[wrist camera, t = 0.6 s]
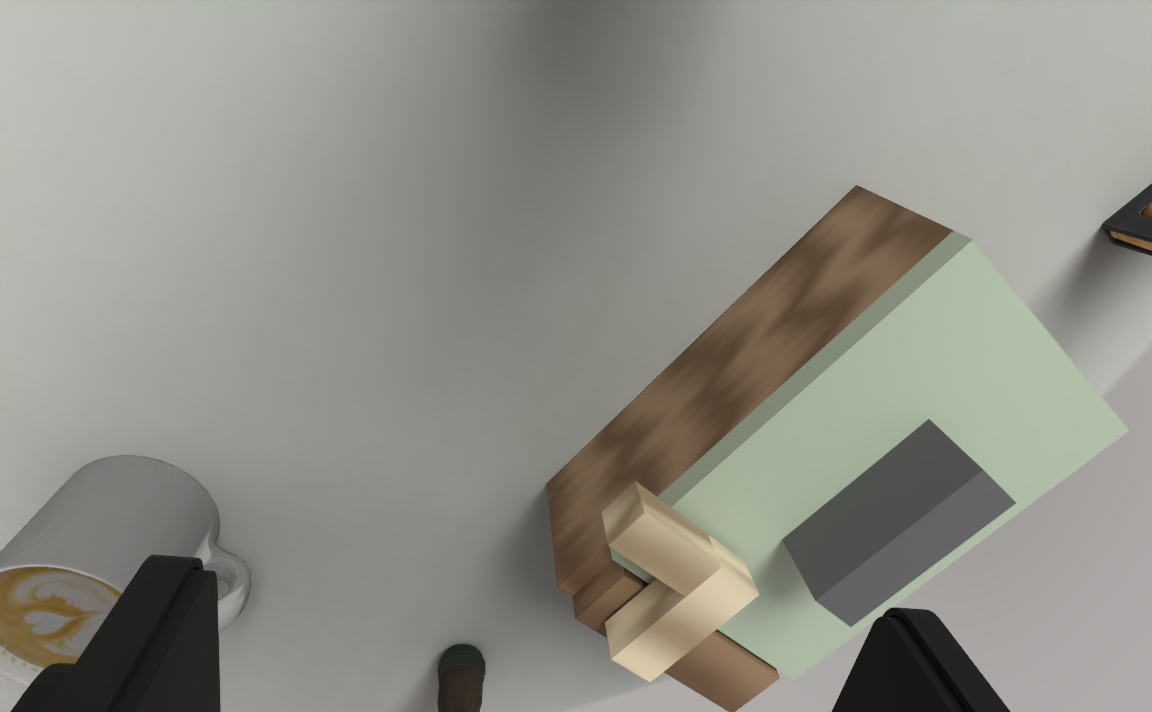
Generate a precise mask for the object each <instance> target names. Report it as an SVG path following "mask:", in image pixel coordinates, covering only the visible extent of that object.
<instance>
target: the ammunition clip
mask: <svg viewBox="0 0 1152 712" xmlns="http://www.w3.org/2000/svg"><path fill="white" fill-rule="evenodd" d="M1102 227H1103V229H1104V230H1105V232H1106V233H1107V235H1108V236H1109V238H1110V239H1111V241H1112V243H1113V244H1115V245H1118V246H1122V247H1125V248H1128V249H1131V250H1135V251H1138V252H1141V253H1144V254H1148V255H1151V256H1152V184H1151V185H1149V186H1148V187H1147V188H1146V189H1144V190H1143V191H1142V192H1141V193H1139V194H1138V195H1137V196H1136V197H1135V198H1133V199H1132V200H1131V201H1130V202H1128V203H1127V204H1126V205H1125V206H1123V207H1122V208H1121V209H1120V210H1118V211H1117V212H1116V213H1115V214H1114V215H1112V216H1111V217H1110V218H1109V219H1107V220H1106V221H1105V222H1104V223H1103V226H1102Z"/></svg>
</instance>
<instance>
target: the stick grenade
mask: <svg viewBox="0 0 1152 712" xmlns="http://www.w3.org/2000/svg"><path fill="white" fill-rule="evenodd" d="M484 675H485V660H484V659H483V656H482V654H481V652H480V651H479V650H478V649H477V648H475V647H473V646H470V645H464V644H462V645H456V646H453V647H451V648H449V649H448V650H447V651H446V652H445V653H444V655H443V657H442V658H441V660H440V662H439V667H438V678H439V692H438V710H439V712H480V708H481V704H482V688H483V681H484Z"/></svg>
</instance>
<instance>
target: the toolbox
mask: <svg viewBox="0 0 1152 712" xmlns="http://www.w3.org/2000/svg"><path fill="white" fill-rule="evenodd" d="M951 232H953V230H951V229H949V228H947V227H945V226H943V225H940V224H938V223H936V222H934V221H932V220H930V219H928V218H926V217H923V216H921V215H919V214H917V213H915V212H913V211H911V210H909V209H906V208H904V207H902V206H900V205H898V204H896V203H894V202H892V201H889V200H887V199H885V198H883V197H881V196H879V195H877V194H875V193H872V192H870V191H868V190H866V189H864V188H862V187H860V186H857V185H856V186H855V187H854V188H853V189H852V190H851V191H850V192H849V193H848V194H847V195H846V196H845V197H844V198H843V199H842V200H841V201H840V202H839V203H838V204H837V205H836V206H834V207H833V208H832V209H831V210H830V211H829V212H828V213H827V214H826V215H825V216H824V217H823V218H822V219H821V220H820V221H819V222H818V223H817V224H816V225H815V226H814V227H813V228H812V229H811V230H810V231H809V232H808V233H806V234H805V235H804V236H803V237H802V238H801V239H800V240H799V241H798V242H797V243H796V244H795V245H794V246H793V247H792V248H791V249H790V250H789V251H788V252H787V253H786V254H785V255H784V256H783V257H782V258H781V259H779V260H778V261H777V262H776V263H775V264H774V265H773V266H772V267H771V268H770V269H769V270H768V271H767V272H766V273H765V274H764V275H763V276H762V277H761V278H760V279H759V280H758V281H757V282H756V283H755V284H754V285H753V286H751V287H750V288H749V289H748V290H747V291H746V292H745V293H744V294H743V295H742V296H741V297H740V298H739V299H738V300H737V301H736V302H735V303H734V304H733V305H732V306H731V307H730V308H729V309H728V310H727V311H726V312H724V313H723V314H722V315H721V316H720V317H719V318H718V319H717V320H716V321H715V322H714V323H713V324H712V325H711V326H710V327H709V328H708V329H707V330H706V331H705V332H704V333H703V334H702V335H701V336H700V337H699V338H698V339H696V340H695V341H694V342H693V343H692V344H691V345H690V346H689V347H688V348H687V349H686V350H685V351H684V352H683V353H682V354H681V355H680V356H679V357H678V358H677V359H676V360H675V361H674V362H673V363H672V364H671V365H669V366H668V367H667V368H666V369H665V370H664V371H663V372H662V373H661V374H660V375H659V376H658V377H657V378H656V379H655V380H654V381H653V382H652V383H651V384H650V385H649V386H648V387H647V388H646V389H645V390H644V391H643V392H641V393H640V394H639V395H638V396H637V397H636V398H635V399H634V400H633V401H632V402H631V403H630V404H629V405H628V406H627V407H626V408H625V409H624V410H623V411H622V412H621V413H620V414H619V415H618V416H617V417H616V418H615V419H613V420H612V421H611V422H610V423H609V424H608V425H607V426H606V427H605V428H604V429H603V430H602V431H601V432H600V433H599V434H598V435H597V436H596V437H595V438H594V439H593V440H592V441H591V442H590V443H589V444H588V445H586V446H585V447H584V448H583V449H582V450H581V451H580V452H579V453H578V454H577V455H576V456H575V457H574V458H573V459H572V460H571V461H570V462H569V463H568V464H567V465H566V466H565V467H564V468H563V469H562V470H561V471H560V472H558V473H557V474H556V475H555V476H554V477H553V478H552V479H551V480H550V481H549V482H548V483H547V484H548V494H549V504H550V515H551V525H552V535H553V546H554V556H555V566H556V577H557V587H559V588H560V589H562V590H564V591H565V592H567V593H568V594H570V595H572V596H573V603H574V611H575V619H577V620H578V621H580V622H582V623H583V624H585V625H587V626H588V627H590V628H592V629H593V630H595V631H597V632H598V633H600V634H602V635H603V636H605V637H607V632H606V627H605V622H606V621H607V620H608V619H610V618H611V617H612V616H613V615H614V614H615V613H617V612H618V611H619V610H620V609H621V608H622V607H624V606H625V605H626V604H627V603H628V602H629V601H631V600H632V599H633V598H634V597H635V596H636V595H638V594H639V593H640V592H641V591H642V590H643V589H645V588H646V587H647V586H648V585H649V583H647V582H646V581H644V580H643V579H641V578H640V577H638V576H637V575H635V574H633V573H632V572H630V571H629V570H627V569H626V568H624V567H623V566H621V565H620V564H618V563H617V562H615V561H614V560H612V555H611V550H610V546H608V542H607V537H606V532H605V527H604V522H603V517H602V511H604V510H605V509H606V508H607V507H608V506H609V505H610V504H611V503H612V502H613V501H614V500H616V499H617V498H618V497H619V496H620V495H621V494H622V493H623V492H624V491H625V490H626V489H628V488H629V487H630V486H631V485H632V484H633V483H634V482H635V481H636V482H638V483H639V484H640V485H642V486H643V487H644V488H646V489H647V490H648V491H650V492H651V493H653V494H654V495H655V496H657V497H658V496H659V495H660V494H661V493H662V492H663V491H664V490H666V489H667V488H668V487H669V486H670V485H671V484H672V483H673V482H675V481H676V480H677V479H678V478H679V477H680V476H681V475H682V474H683V473H685V472H686V471H687V470H688V469H689V468H690V467H691V466H692V465H693V464H695V463H696V462H697V461H698V460H699V459H700V458H701V457H702V456H703V455H705V454H706V453H707V452H708V451H709V450H710V449H711V448H712V447H713V446H715V445H716V444H717V443H718V442H719V441H720V440H721V439H722V438H723V437H725V436H726V435H727V434H728V433H729V432H730V431H731V430H732V429H733V428H735V427H736V426H737V425H738V424H739V423H740V422H741V421H742V420H743V419H745V418H746V417H747V416H748V415H749V414H750V413H751V412H752V411H753V410H755V409H756V408H757V407H758V406H759V405H760V404H761V403H762V402H763V401H765V400H766V399H767V398H768V397H769V396H770V395H771V394H772V393H773V392H775V391H776V390H777V389H778V388H779V387H780V386H781V385H782V384H783V383H785V382H786V381H787V380H788V379H789V378H790V377H791V376H792V375H793V374H795V373H796V372H797V371H798V370H799V369H800V368H801V367H802V366H803V365H805V364H806V363H807V362H808V361H809V360H810V359H811V358H812V357H814V356H815V355H816V354H817V353H818V352H819V351H820V350H821V349H822V348H824V347H825V346H826V345H827V344H828V343H829V342H830V341H831V340H832V339H834V338H835V337H836V336H837V335H838V334H839V333H840V332H841V331H842V330H844V329H845V328H846V327H847V326H848V325H849V324H850V323H851V322H852V321H854V320H855V319H856V318H857V317H858V316H859V315H860V314H861V313H862V312H864V311H865V310H866V309H867V308H868V307H869V306H870V305H871V304H872V303H874V302H875V301H876V300H877V299H878V298H879V297H880V296H881V295H882V294H884V293H885V292H886V291H887V290H888V289H889V288H890V287H891V286H892V285H894V284H895V283H896V282H897V281H898V280H899V279H900V278H901V277H902V276H904V275H905V274H906V273H907V272H908V271H909V270H910V269H911V268H912V267H914V266H915V265H916V264H917V263H918V262H919V261H920V260H921V259H922V258H924V257H925V256H926V255H927V254H928V253H929V252H930V251H931V250H932V249H934V248H935V247H936V246H937V245H938V244H939V243H940V242H941V241H943V240H944V239H945V238H946V237H947V236H948V235H949V234H950V233H951ZM664 673H666V674H668V675H669V676H671V677H673V678H674V679H676V680H678V681H679V682H681V683H682V684H684V685H686V686H688V687H689V688H691V689H693V690H694V691H696V692H698V693H699V694H701V695H702V696H704V697H706V698H707V699H709V700H711V701H712V702H714V703H716V704H718V705H719V706H721V707H722V708H724V709H725V710H727V711H729V712H735V711H737V710H738V709H739V708H741V707H742V706H743V705H744V704H746V703H747V702H749V701H750V700H751V699H753V698H754V697H755V696H757V695H758V694H759V693H761V692H762V691H763V690H765V689H766V688H767V687H769V686H770V685H771V684H773V683H774V682H775V681H776V680H778V679H779V678H780V677H779V675H778V673H777V670H776V668H775V667H773V666H772V665H770V664H769V663H767V662H766V661H764V660H763V659H761V658H760V657H758V656H757V655H755V654H754V653H752V652H751V651H749V650H748V649H746V648H745V647H743V646H742V645H740V644H739V643H737V642H736V641H734V640H733V639H731V638H730V637H728V636H727V635H725V634H724V633H722V632H721V631H719V630H718V629H716V630H715V631H714V632H713V633H711V634H710V635H709V636H708V637H706V638H705V639H704V640H703V641H701V642H700V643H699V644H698V645H696V646H695V647H694V648H693V649H691V650H690V651H689V652H688V653H686V654H685V655H684V656H683V657H681V658H680V659H679V660H678V661H677V662H675V663H674V664H673V665H672V666H670V667H669V668H668V669H667V670H665V671H664Z"/></svg>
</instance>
